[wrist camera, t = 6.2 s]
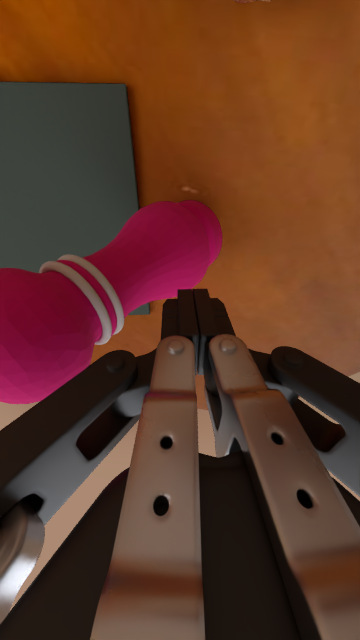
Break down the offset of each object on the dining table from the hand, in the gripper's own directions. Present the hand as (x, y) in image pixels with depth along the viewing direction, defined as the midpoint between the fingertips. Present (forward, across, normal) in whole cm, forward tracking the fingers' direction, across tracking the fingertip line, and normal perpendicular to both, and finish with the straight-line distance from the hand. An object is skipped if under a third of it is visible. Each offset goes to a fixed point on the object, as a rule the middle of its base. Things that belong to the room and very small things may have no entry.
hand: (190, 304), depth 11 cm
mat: (+13, +14, 0) cm, 19 cm away
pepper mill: (+12, -1, 0) cm, 12 cm away
